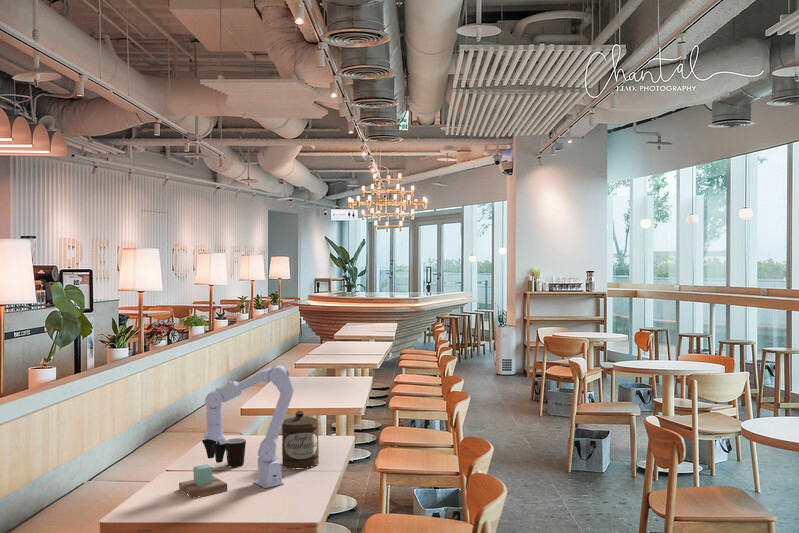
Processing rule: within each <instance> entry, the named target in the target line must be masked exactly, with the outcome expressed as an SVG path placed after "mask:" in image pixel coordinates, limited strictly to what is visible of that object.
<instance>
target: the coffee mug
mask: <svg viewBox="0 0 799 533" xmlns="http://www.w3.org/2000/svg"><path fill="white" fill-rule="evenodd" d="M225 442H227V443H228V446H227V448H226V450H225V457H226V462H227V467H228V466H231V467H230V468H238V467H237V466H240V467H243V466H244V465H243V464H244V463H245V456H246V454H245V453H246V445H247V444H246V443H247V439H246V438H241V437H240V438H239V437H238V438H237V437H235V438H230V439H225ZM242 465H243V466H242Z"/></svg>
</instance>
